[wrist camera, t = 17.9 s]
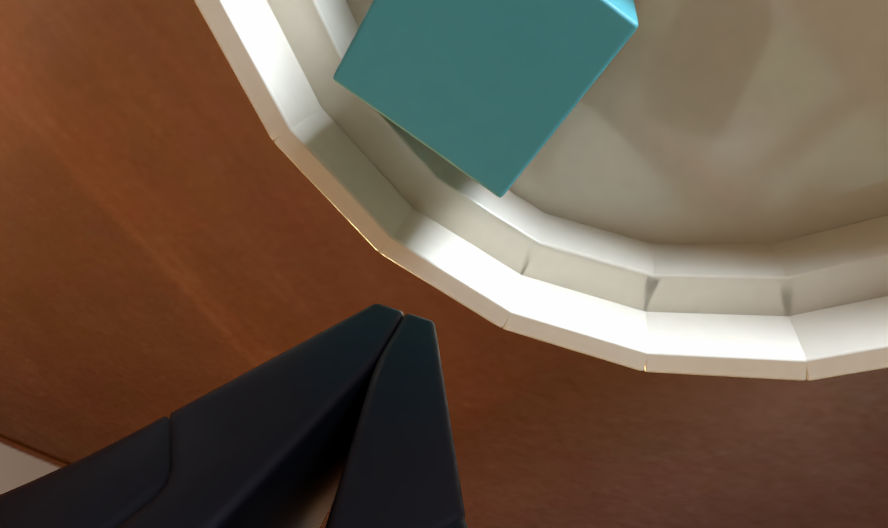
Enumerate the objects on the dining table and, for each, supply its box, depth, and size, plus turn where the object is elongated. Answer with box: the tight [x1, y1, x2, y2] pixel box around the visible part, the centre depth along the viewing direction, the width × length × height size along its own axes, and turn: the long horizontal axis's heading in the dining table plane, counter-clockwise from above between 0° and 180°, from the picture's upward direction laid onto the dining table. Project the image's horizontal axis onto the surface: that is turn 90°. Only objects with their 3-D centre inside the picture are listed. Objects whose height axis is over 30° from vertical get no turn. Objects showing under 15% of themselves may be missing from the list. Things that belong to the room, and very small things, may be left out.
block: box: [333, 0, 639, 198], centre depth 13 cm, size 4×4×4 cm
